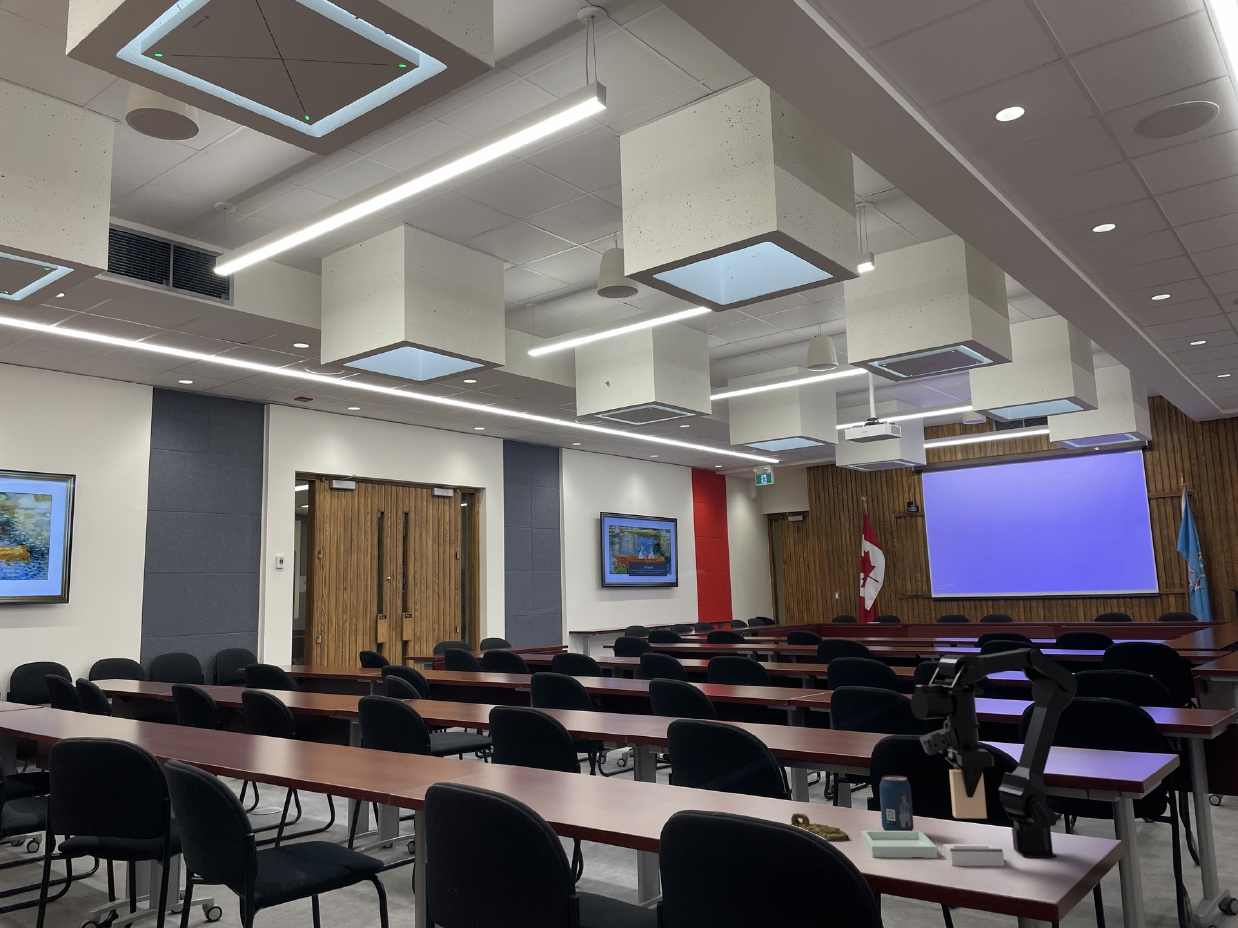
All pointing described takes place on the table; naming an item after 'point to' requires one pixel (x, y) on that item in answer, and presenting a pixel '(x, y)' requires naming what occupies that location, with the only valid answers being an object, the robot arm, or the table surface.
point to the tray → (898, 844)
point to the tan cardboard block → (966, 798)
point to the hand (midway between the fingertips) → (968, 795)
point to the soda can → (896, 804)
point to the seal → (819, 828)
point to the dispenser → (973, 855)
